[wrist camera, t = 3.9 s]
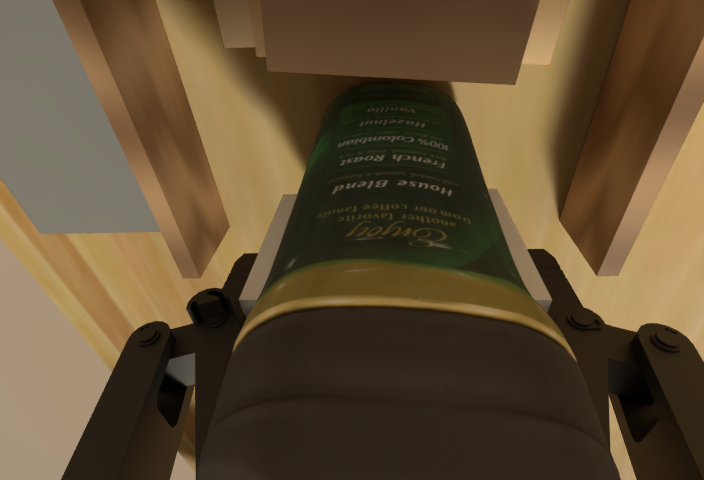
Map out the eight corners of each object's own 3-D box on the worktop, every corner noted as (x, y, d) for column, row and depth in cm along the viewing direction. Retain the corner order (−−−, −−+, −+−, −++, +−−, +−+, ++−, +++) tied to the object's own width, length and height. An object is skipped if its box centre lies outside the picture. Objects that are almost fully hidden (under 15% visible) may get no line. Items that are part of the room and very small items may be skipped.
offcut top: (495, 67, 14) (515, 84, 12) (283, 55, 14) (267, 71, 12) (531, -74, 11) (563, -81, 9) (273, -85, 12) (251, -95, 10)
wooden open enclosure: (576, 220, 22) (617, 275, 18) (215, 227, 25) (183, 278, 21) (711, -159, 13) (858, -212, 9) (100, -92, 15) (-1, -111, 11)
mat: (193, 227, 25) (191, 230, 24) (44, 230, 26) (40, 233, 26) (91, -29, 16) (85, -29, 16) (-124, -9, 17) (-134, -9, 17)
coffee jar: (315, 74, 18) (41, 532, 4) (475, 81, 18) (883, 613, 3) (320, 230, 24) (223, 649, 10) (441, 238, 24) (534, 682, 9)
